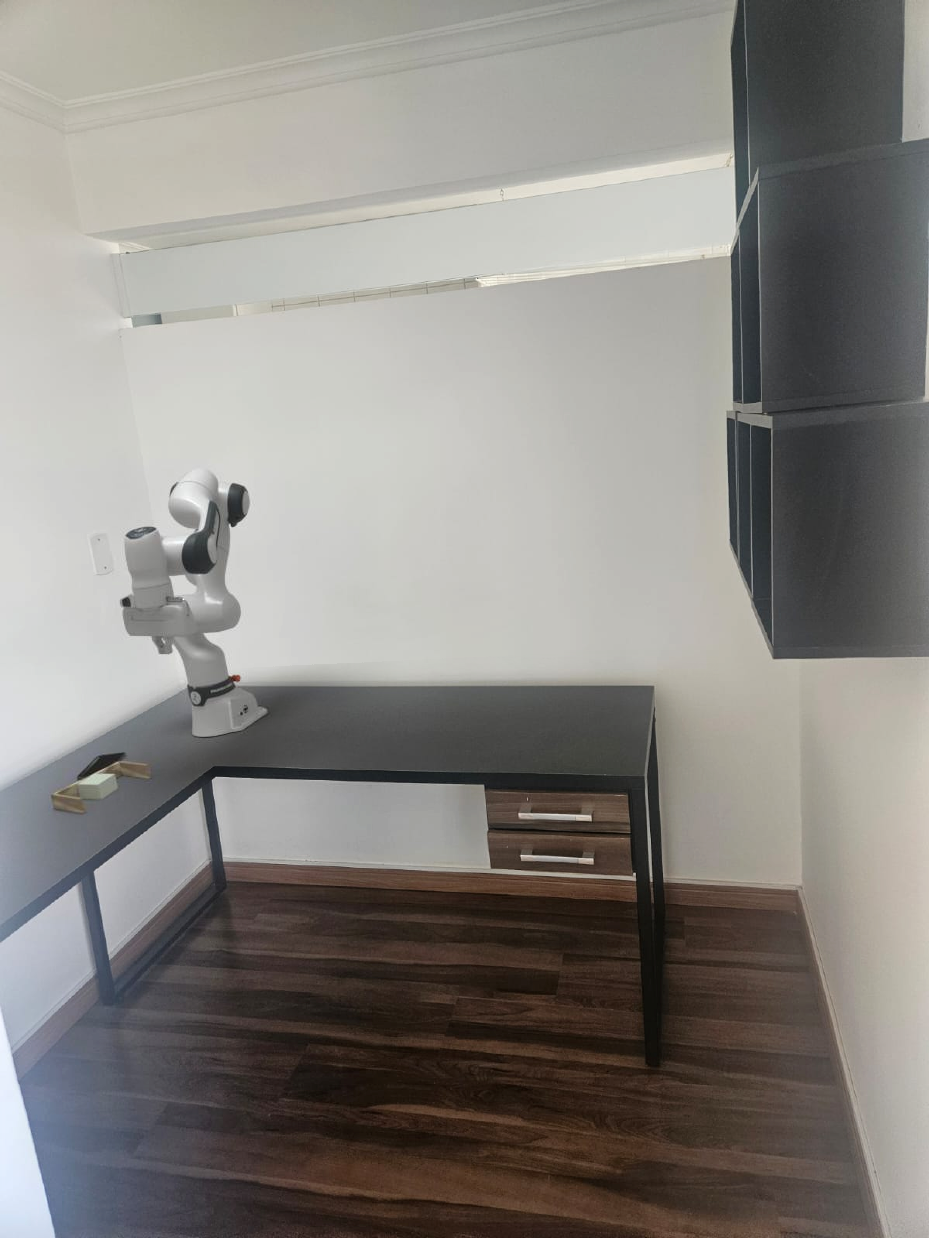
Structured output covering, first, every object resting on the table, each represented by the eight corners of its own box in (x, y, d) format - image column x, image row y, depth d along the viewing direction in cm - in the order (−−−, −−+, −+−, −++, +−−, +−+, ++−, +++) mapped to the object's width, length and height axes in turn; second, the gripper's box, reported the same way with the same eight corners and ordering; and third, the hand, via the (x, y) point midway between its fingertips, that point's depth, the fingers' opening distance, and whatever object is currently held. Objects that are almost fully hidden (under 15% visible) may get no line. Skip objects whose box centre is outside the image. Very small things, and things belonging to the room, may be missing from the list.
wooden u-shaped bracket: (122, 773, 219) (119, 760, 218) (151, 777, 214) (148, 764, 213) (54, 808, 202) (50, 794, 201) (83, 813, 197) (79, 799, 196)
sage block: (97, 788, 212) (94, 773, 211) (118, 789, 210) (114, 773, 209) (80, 799, 206) (77, 784, 205) (101, 800, 204) (98, 784, 203)
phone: (75, 778, 218) (98, 755, 233) (76, 782, 218) (98, 759, 233) (106, 774, 218) (127, 751, 233) (107, 778, 218) (127, 755, 233)
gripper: (196, 593, 200) (207, 650, 203) (135, 594, 210) (146, 648, 213) (175, 600, 195) (187, 658, 198) (114, 600, 205) (126, 656, 208)
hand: (166, 653), depth 206 cm, fingers closed
